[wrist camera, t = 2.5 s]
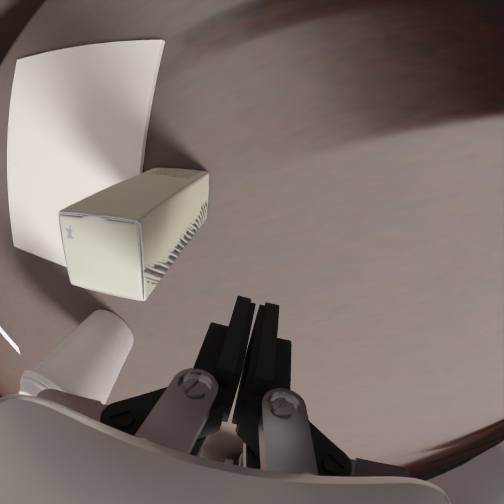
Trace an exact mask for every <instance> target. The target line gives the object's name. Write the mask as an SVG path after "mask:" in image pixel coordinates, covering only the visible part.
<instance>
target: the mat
mask: <svg viewBox="0 0 504 504" xmlns="http://www.w3.org/2000/svg"><path fill="white" fill-rule="evenodd" d="M164 44H165V41H164V40H135V41H119V42H108V43H99V44H91V45H84V46H77V47H71V48H65V49H60V50H55V51H50V52H46V53H41V54H37V55H33V56H29V57H25V58H22V59H18V60H17V64H16V69H15V74H14V80H13V87H12V94H11V102H10V111H9V123H8V141H7V180H8V199H9V211H10V220H11V229H12V236H13V243H14V246H15V247H17V248H19V249H22V250H24V251H27V252H29V253H32V254H34V255H37V256H39V257H42V258H44V259H47V260H49V261H52V262H55V263H57V264H60V265H63V266H65V267H67V266H66V261H65V256H64V251H63V245H62V239H61V233H60V226H59V218H58V216H59V214H58V213H59V211H60V210H62V209H64V208H66V207H68V206H70V205H72V204H74V203H76V202H78V201H80V200H82V199H84V198H86V197H88V196H91V195H93V194H95V193H97V192H99V191H101V190H103V189H106V188H108V187H110V186H113V185H115V184H117V183H119V182H122V181H124V180H126V179H129V178H131V177H134V176H136V175H139V174H141V173H143V164H144V155H145V147H146V140H147V132H148V126H149V119H150V113H151V107H152V101H153V96H154V90H155V85H156V80H157V75H158V70H159V66H160V61H161V57H162V53H163V48H164Z"/></svg>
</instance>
